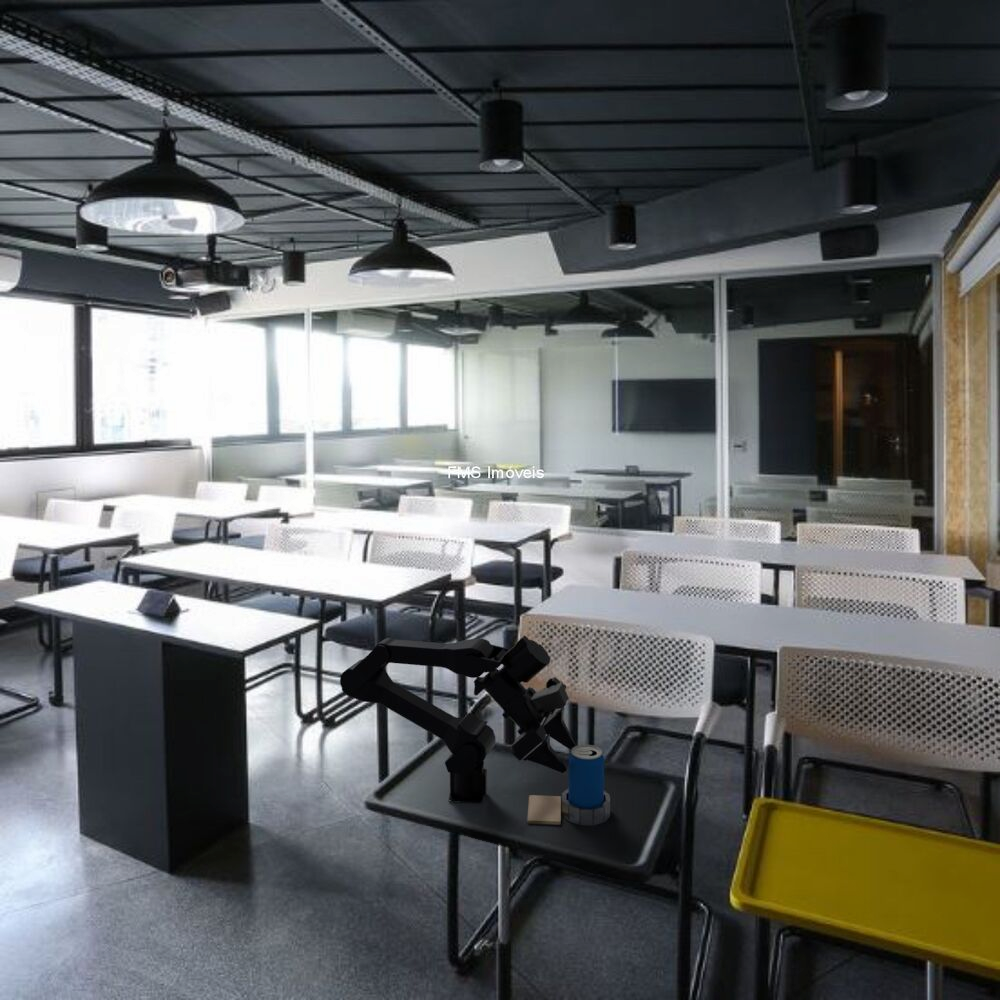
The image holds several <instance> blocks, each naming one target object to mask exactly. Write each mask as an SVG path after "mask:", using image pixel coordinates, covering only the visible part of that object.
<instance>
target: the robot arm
mask: <svg viewBox="0 0 1000 1000" xmlns="http://www.w3.org/2000/svg"><path fill="white" fill-rule="evenodd" d="M389 663H390V664H401V665H412V666H424V667H435V668H444V669H446V670H448V671H450V672H452V673H454V674H456V675H460V676H463V677H467V678H472V679H473V678H474V681H473V684H474V688H473V695H474V696H478V695H479V694H481V693H482V692H483V691H485V692H486V693H487V694H488V695H489V696H490V697H491V698H492V699H493V701H494V702H495V703H496V704H497V705H498V706H499V707H500V708H501V709H502V710H503V713H502V714H501V716H502V717H503V718H504V719H505V720H506V719H508V717H509V718H510V719H511V720H512V721H513V722H514V723H515V725H516V726H517V727H518V730H517V731H516V732H517V733H518V735H519V736H517V737H516V739H515V740H514V742H513V744H512V745H511V754H512V755H513V756H514V757H515V758H516V759H517V760H518V762H520V761H521V760H523V761H530V762H532V763H535V764H539V765H540V766H541V765H542V766H544V767H546V768H548V769H552V770H554V771H556V772H559V773H561V774H564V773H565V772H566V771H567V769H568V768H567V766H566V765H565V764H564V762H563V761H562V759H561V758H560V757H559V755H558V754H557V753H556V751H555V750H554V748H553V747H552V746H551V741H550V739H551V738H552V739H553V740H554V741H556V742H558V744H559V743H560V745H562V746H564V747H565V748H567V749H569V750H570V751H571V750H572V748H573V747H575V746H577V744H576V742H575V740H574V739H573V737H572V734H571V732H570V731H569V729H568V727H567V725H566V722H565V720H564V714H565V713H564V712H565V706H566V705H567V701H569V699H570V697H569V695H568V693H567V691H566V689H567V685H566V684H564V682H563V681H561V680H559V679H558V678H557V677H556V676H553V677H550V678H548V679H547V681H546V685H545V687H543V688H542V689H541V690H537V691H536V690H535V689H534V688H533V687H530V686H528V687H527V688H526V687H525V686H524V685H523V684H522V683H529V682H530V681H531V680H532V679H533V678H535V677H536V676H537V675H538V674H539V673H540V672H542V671H543V670H544V668H546V667H547V666H548V665H550V663H551V659H550V655H549V653H548V652H547V650H546V649H545V647H544V646H543V645H542V644H539V643H538V642H537V641H535V640H533V639H529V638H528V636H526V635H522V637H521V638H520V639H519V640H518V641H517V642H516V644H514V645H513V646H512V647H511V648H507V647H503V646H498V645H495V644H491V642H490V641H489V640H488V639H485V638H473V639H464V640H459V641H455V642H450V643H443V642H432V641H419V640H418V641H417V640H408V639H407V640H405V639H404V640H403V639H395V638H393V637H386V638H385V639H383V640H381V641H380V642H379V643H376V645H375V646H374V647H373V649H372V650H371V651H370V653H368V654H367V655H366V656H365V657H364V658H362V659H360V660H358V661H356V662H355V663H353V664H352V665H351V666H350V667H348V668H346V670H344V671H343V672H342V673H341V675H340V678H339V684H340V687H341V691H342V693H343V694H345V696H348V697H350V698H352V699H355V700H358V701H360V702H365V703H371V704H372V703H373V704H380V705H381V706H383V707H385V708H387V709H389V710H390V711H392V712H394V713H395V714H397V715H399V716H400V717H402V718H404V719H406V720H408V721H409V722H411V723H413V724H414V725H416V726H417V727H420V728H421V729H423V730H425V731H427V732H428V733H430V734H431V735H434V736H436V737H437V738H439V739H440V740H441V741H443V743H444V744H445V746H446V747H447V748H448V750H449V752H450V753H451V754H450V755H449V756H448V757H447V759H446V760H445V762H444V765H445V767H446V770H447V772H448V773H449V791H450V792H449V795H448V801H449V800H451V801H460V802H459V803H472V804H473V803H475V804H480V803H483V802H484V801H483V800H484V796H486V794H487V791H488V770H487V768H485V759H486V758H487V756H488V755H489V754H490V752H491V751H492V749H493V748H494V747H495V746H496V735H495V733H494V729H493V728H492V727H491V726H490V725H488V720H482V719H480V718H479V717H477V716H476V715H475V714H473V713H471V712H468V713H467V714H466V715H465V716H464V717H456V716H454V715H452V714H450V713H448V712H447V711H445V710H443V709H441V708H440V707H438V706H437V705H434V704H432V703H431V702H429V701H427V700H425V698H422V697H420V696H418V695H417V694H415V693H414V692H412V691H410V690H408V689H406V688H404V687H403V686H401V685H399V683H398V684H397V683H395V682H394V681H393V679H392V678H391V677H390V675H389V674H388V672H387V670H386V669H385V668H386V667H387V666H388V665H389ZM501 665H503V666H502V667H501V668H500V666H501ZM484 673H485V675H484V676H482V675H483V674H484Z"/></svg>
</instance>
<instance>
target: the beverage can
mask: <svg viewBox="0 0 1000 1000" xmlns="http://www.w3.org/2000/svg"><path fill="white" fill-rule="evenodd" d="M570 751H571V752H570V753H569V756H568V788H567V789H568V801H569V802H570V803H571V804H573V805H576V806H579V807H588V808H592V807H596V806H600V805H602V804H603V803H604V791H605V756H604V755H603V750H602V748H599V747H598V746H596V745H593V744H580V745H579V744H578V745H576V746H575V747H573V748H572V750H570Z"/></svg>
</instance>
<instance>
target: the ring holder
mask: <svg viewBox="0 0 1000 1000" xmlns="http://www.w3.org/2000/svg"><path fill="white" fill-rule="evenodd" d="M561 817H563V818H565V820H566V821H568V822H570V823H573V824H576V825H578V826H590V827H591V826H597V825H601V824H604V823H605V822H606V821H607V820H608V819H610V817H611V796H610V794H609V793H608V792H607V791H606V790H604V803H603V804H602V805H600V806H596V807H592V808H588V807H579V806H576V805H573V804H571V803H570V802H569V801H568V788H567V789H565V790H564V791H563V792H561Z"/></svg>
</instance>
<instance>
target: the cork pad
mask: <svg viewBox="0 0 1000 1000" xmlns="http://www.w3.org/2000/svg"><path fill="white" fill-rule="evenodd" d="M527 808H528V809H527V819H526V822H527V823H526V824H530V825H531V824H535V825H559V826H560V825H562V823H561V821H562V795H561V796H560V795H535V794H534V795H531V794H530V795H529V796H528V807H527Z"/></svg>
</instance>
